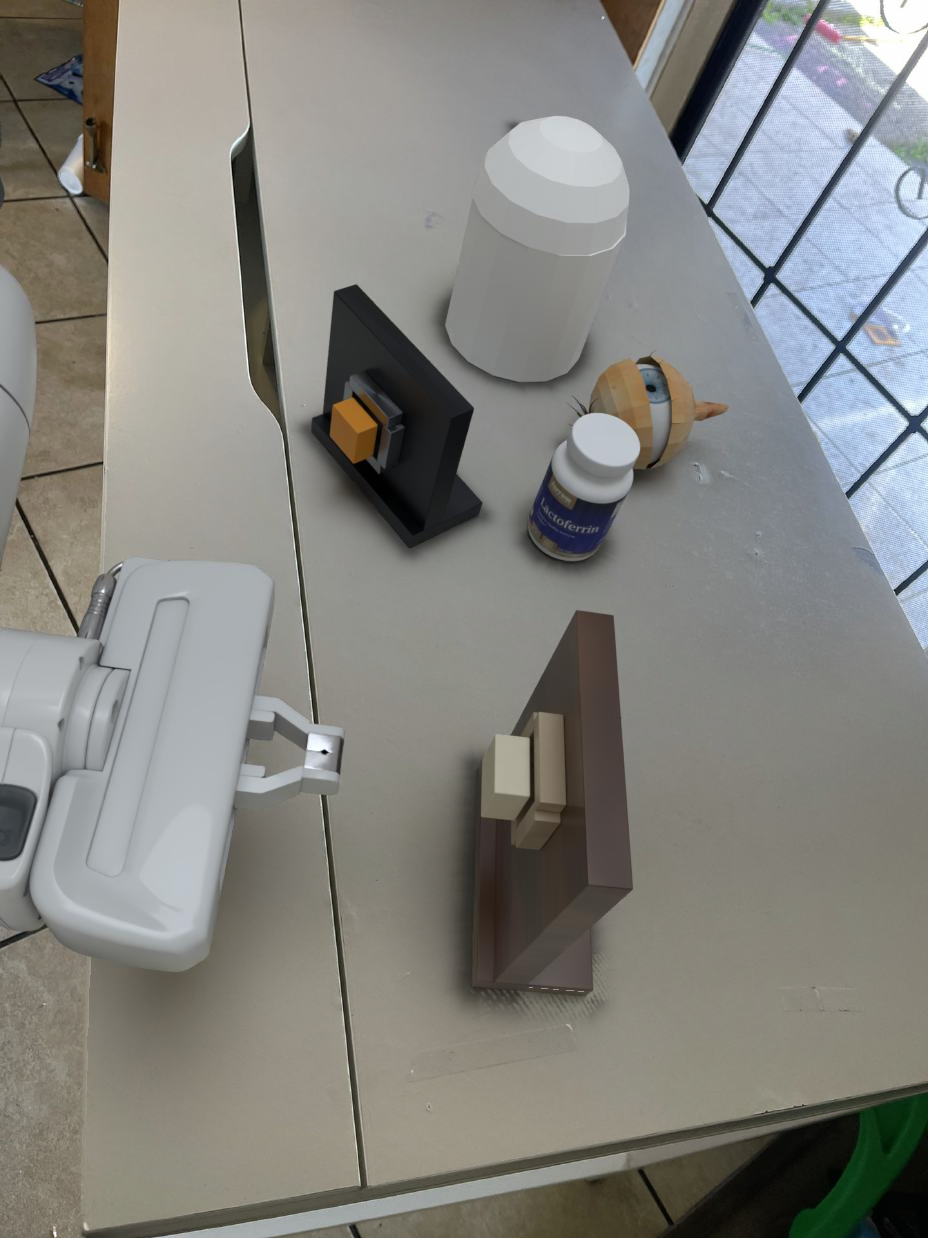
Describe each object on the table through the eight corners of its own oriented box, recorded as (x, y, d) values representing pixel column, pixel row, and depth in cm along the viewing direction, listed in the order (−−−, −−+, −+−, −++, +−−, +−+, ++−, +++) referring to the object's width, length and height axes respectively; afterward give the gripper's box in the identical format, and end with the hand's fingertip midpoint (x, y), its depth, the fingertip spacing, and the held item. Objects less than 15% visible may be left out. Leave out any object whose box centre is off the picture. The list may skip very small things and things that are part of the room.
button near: (480, 817, 47) (494, 792, 44) (481, 760, 48) (495, 733, 46) (514, 821, 47) (530, 797, 44) (515, 763, 49) (530, 737, 46)
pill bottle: (515, 545, 73) (553, 448, 64) (538, 492, 77) (576, 394, 68) (590, 576, 73) (637, 483, 64) (609, 521, 77) (657, 426, 68)
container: (481, 393, 82) (539, 185, 66) (421, 297, 88) (460, 84, 72) (605, 369, 88) (687, 171, 71) (540, 280, 93) (602, 77, 77)
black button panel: (406, 550, 71) (436, 424, 60) (307, 431, 76) (317, 295, 65) (479, 514, 74) (519, 389, 63) (379, 403, 79) (401, 269, 68)
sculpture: (554, 348, 75) (730, 315, 76) (546, 414, 84) (705, 384, 85) (583, 444, 72) (767, 408, 73) (571, 502, 80) (737, 470, 81)
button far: (353, 464, 68) (357, 433, 65) (329, 436, 69) (332, 404, 66) (373, 455, 68) (378, 424, 66) (349, 428, 69) (353, 396, 67)
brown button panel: (466, 986, 54) (557, 882, 38) (472, 767, 62) (550, 605, 46) (585, 996, 55) (723, 898, 39) (577, 779, 63) (689, 625, 47)
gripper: (111, 588, 52) (356, 622, 54) (-8, 966, 40) (311, 992, 42) (96, 516, 47) (368, 556, 48) (-45, 926, 35) (320, 957, 37)
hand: (341, 762), depth 45 cm, fingers closed
